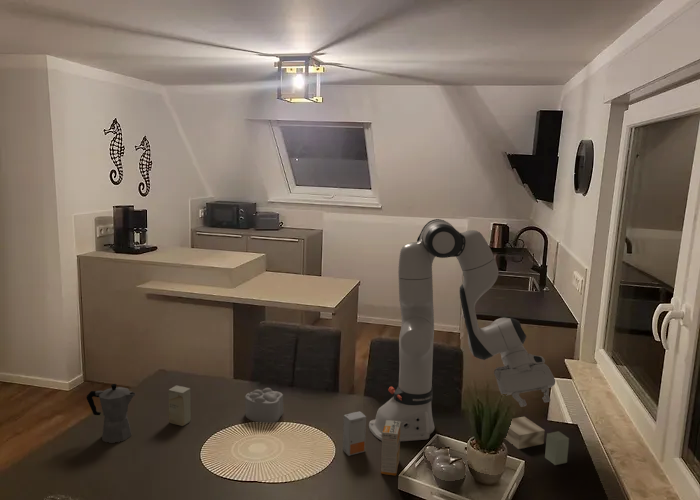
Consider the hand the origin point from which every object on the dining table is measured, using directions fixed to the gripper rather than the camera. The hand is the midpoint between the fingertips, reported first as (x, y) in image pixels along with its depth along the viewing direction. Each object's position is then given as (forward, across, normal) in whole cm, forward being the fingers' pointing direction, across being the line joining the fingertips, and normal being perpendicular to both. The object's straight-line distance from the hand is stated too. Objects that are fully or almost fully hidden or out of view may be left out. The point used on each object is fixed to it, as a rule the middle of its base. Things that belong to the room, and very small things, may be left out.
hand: (535, 403), depth 173 cm
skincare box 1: (-27, -107, +45) cm, 120 cm away
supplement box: (+8, -50, +11) cm, 52 cm away
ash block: (+7, -2, +12) cm, 14 cm away
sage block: (+17, 0, +2) cm, 17 cm away
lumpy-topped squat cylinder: (-24, -79, +43) cm, 93 cm away
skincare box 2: (-1, -57, +20) cm, 60 cm away
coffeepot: (-25, -128, +43) cm, 138 cm away
